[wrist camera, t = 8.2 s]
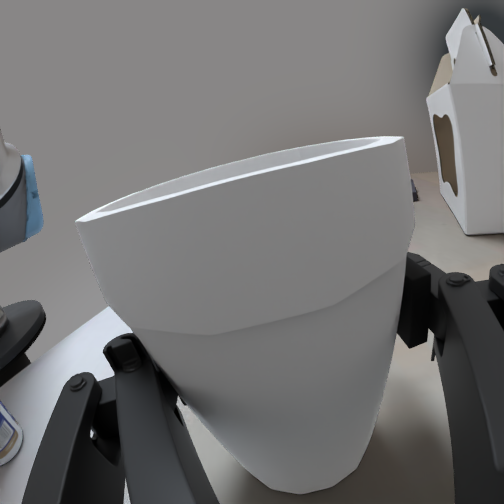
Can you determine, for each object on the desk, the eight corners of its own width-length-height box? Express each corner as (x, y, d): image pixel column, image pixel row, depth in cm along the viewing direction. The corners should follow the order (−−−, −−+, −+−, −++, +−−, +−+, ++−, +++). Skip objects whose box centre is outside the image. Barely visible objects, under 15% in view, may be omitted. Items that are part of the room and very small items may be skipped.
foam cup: (183, 490, 11) (23, 242, 7) (253, 374, 19) (191, 172, 14) (384, 530, 7) (447, 152, 3) (403, 378, 15) (391, 132, 10)
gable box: (551, 231, 22) (514, 3, 13) (465, 236, 28) (419, -2, 19) (501, 190, 40) (474, 41, 31) (440, 193, 46) (410, 43, 37)
